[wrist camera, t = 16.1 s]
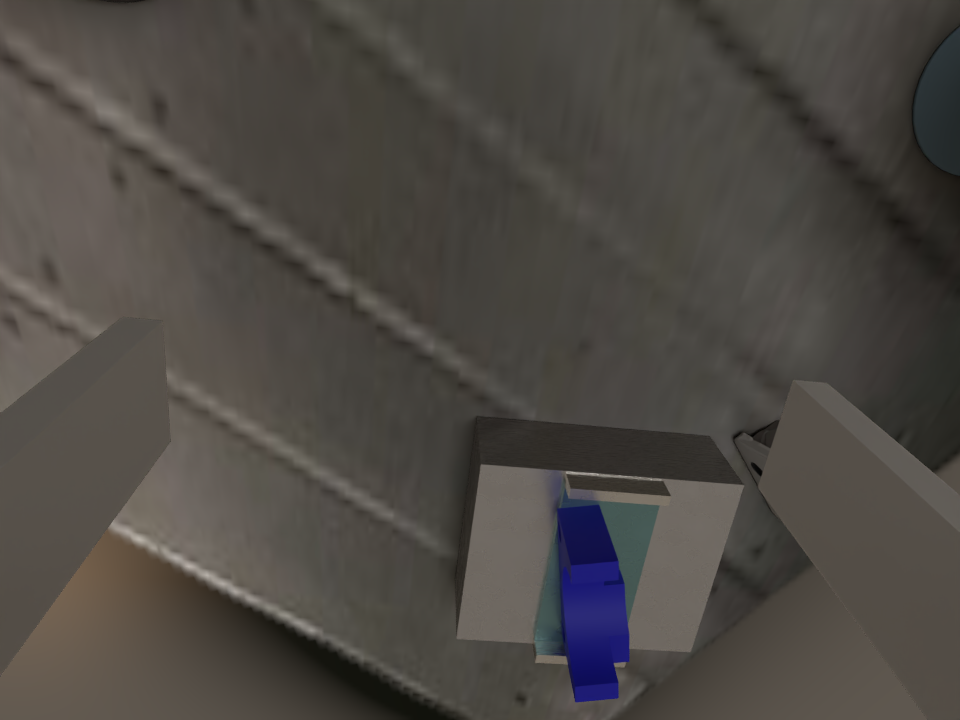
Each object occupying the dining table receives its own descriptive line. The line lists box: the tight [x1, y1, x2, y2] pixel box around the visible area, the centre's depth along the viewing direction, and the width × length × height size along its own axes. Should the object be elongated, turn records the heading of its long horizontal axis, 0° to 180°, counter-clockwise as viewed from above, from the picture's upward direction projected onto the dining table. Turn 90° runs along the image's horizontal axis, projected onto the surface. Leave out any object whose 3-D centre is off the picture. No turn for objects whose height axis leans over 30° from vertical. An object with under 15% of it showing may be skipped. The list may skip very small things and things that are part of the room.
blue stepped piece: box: [557, 505, 629, 702], centre depth 48 cm, size 12×4×6 cm, turn 5°
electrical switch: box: [734, 420, 781, 520], centre depth 53 cm, size 9×5×9 cm, turn 32°
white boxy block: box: [455, 416, 744, 667], centre depth 54 cm, size 19×16×9 cm
